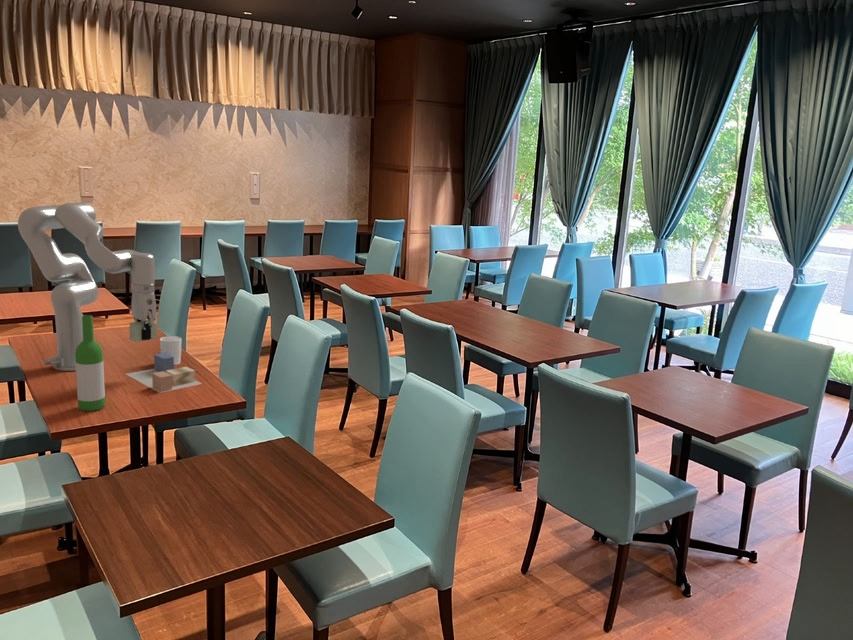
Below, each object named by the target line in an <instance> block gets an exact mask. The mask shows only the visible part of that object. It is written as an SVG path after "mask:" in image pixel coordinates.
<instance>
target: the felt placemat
mask: <svg viewBox="0 0 853 640" xmlns="http://www.w3.org/2000/svg"><path fill="white" fill-rule="evenodd" d="M156 372H158V371H156V370H155V368H151V369H146V370H139V371H134V372H129V373H125V375H126V376H128V377H129V378H131V379H134V380H135V381H137V382H139V383H141V384H142V385H144V386H146V387H148V388H150V389H152V390H153V391H156V392H157V393H159V394H161V393H166V392H170V391H176V390H181V389H185V388H188V387H189V388H190V387H194V386H198V385H199V386H200V385H202V384H203V382H200V381H198V380H196V379H195V381H194V382H189V383H184V384H179V385H173V384H172V389H170V390H166V391H159V390H157V389H156V388H154V387H153V382H152V373H156Z"/></svg>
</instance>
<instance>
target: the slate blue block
mask: <svg viewBox="0 0 853 640" xmlns="http://www.w3.org/2000/svg"><path fill="white" fill-rule="evenodd" d="M153 357H154V358H153V360H154V369H155V370H156V371H158V372H161V371H164V372H166V370H171V369H175V365H174V357H172V356H170V355H168V354H166V353H161V352H160V353H155V354H154V355H153Z"/></svg>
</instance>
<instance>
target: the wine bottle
mask: <svg viewBox="0 0 853 640" xmlns="http://www.w3.org/2000/svg"><path fill="white" fill-rule="evenodd" d="M93 318H94V316H93V314H83V316H82V327H83V341H82V342H81V343H80V344H79V345H78V347H77V348H76V352H75V357H76V371H75V372H76V374H75V375H76V390H77V391H76V395H77V405H78V409H79V410H81V411H83V412H95V410H96V411H98V410H99V411H100V410H101V409H103V408H104V407H105V405H106V392H105V391H106V389H105V371H104V369H105V368H104V352H103V348H102V346H101V345H100V344H99V343H98V341H96V340H95V336H94V320H93Z"/></svg>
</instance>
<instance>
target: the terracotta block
mask: <svg viewBox="0 0 853 640" xmlns="http://www.w3.org/2000/svg"><path fill="white" fill-rule="evenodd" d="M152 382H153V387H154V388H156V389H157V390H159V391H166V390H170V389H172V375H170V374H168V373H166V372H164V371H161V372H156V373H152Z"/></svg>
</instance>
